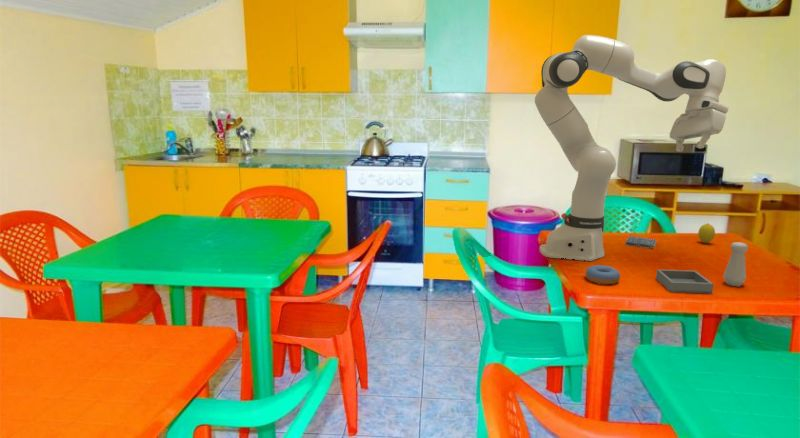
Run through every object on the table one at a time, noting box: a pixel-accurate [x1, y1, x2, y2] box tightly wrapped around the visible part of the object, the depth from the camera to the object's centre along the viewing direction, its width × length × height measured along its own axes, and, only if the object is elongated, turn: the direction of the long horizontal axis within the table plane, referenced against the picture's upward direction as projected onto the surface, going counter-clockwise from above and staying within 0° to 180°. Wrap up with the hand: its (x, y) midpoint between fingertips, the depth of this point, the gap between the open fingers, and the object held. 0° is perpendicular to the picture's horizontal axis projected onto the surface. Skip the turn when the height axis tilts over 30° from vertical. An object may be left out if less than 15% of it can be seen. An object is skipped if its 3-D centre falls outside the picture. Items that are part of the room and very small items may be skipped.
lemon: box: [697, 222, 716, 244], centre depth 207 cm, size 6×6×8 cm
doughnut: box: [585, 264, 621, 285], centre depth 167 cm, size 10×10×5 cm
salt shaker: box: [723, 241, 748, 287], centre depth 163 cm, size 6×6×13 cm
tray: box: [655, 269, 714, 295], centre depth 162 cm, size 12×12×3 cm
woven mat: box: [624, 235, 657, 250], centre depth 207 cm, size 10×11×2 cm
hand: (689, 149), depth 177 cm, fingers open, 8 cm apart
